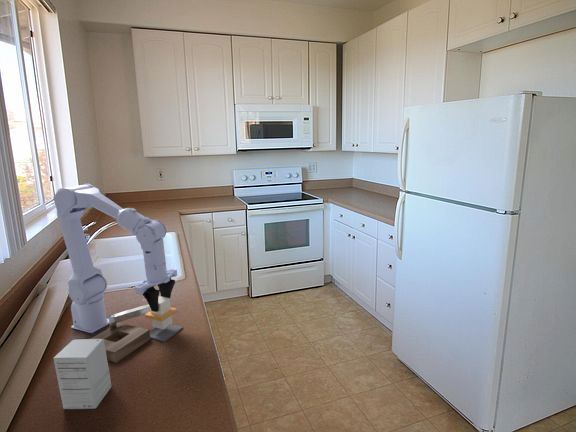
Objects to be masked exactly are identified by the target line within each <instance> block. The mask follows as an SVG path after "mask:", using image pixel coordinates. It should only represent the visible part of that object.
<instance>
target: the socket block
mask: <svg viewBox="0 0 576 432" xmlns="http://www.w3.org/2000/svg"><path fill="white" fill-rule="evenodd" d="M149 331H150V329H148V328H145V327H139V326H135V325H130V324H127V323H121V322H118V323H117V327H116V328H110V327H108V328H106V329H105V330H103V331H102V332H100V333H98V334H97V335H95V336H93V337H92V338H91V337H90V339H104V344H105V350H106V356H107V361H109V362H112V363H119V362H120V361H121V360H123V358H125V357H127V356H128V355H130V354H131V353H133V352H134V351H136V350H137V349H138V348H140V347H142V346H143V345H144V344H145V343H147V342H149V341H150V340H151V339H150V333H149Z"/></svg>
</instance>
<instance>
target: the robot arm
mask: <svg viewBox="0 0 576 432" xmlns="http://www.w3.org/2000/svg"><path fill="white" fill-rule="evenodd" d="M53 203H54V205H55V208H56V216H57V221H58V223H59V227H60V230H61V233H62V237H63V241H64V244H65V246H66V247H65V248H66V251H67V255H68V257H69V261H70V264H71V265H70V266H71V268H72V271H73V272H72V274H71V275H70V277H69V279H68V281H67V284H68V296H69V299H71V301H72V303H71V306H70V311H71V317H72V323H73V325H71V327H70V328H71V329H75V330H78V331H82V332H86V333H89V334H94V333H95V332H97V331H100V330H101V329H102V328H104V327H106V326H108V325H110V323H109V318H107V313H106V306H105V301H104V296H105V291H106V290H107V288H108V282H107V279H106V277H105V276H104V275H103V273H102V270H101V269H100V268H97V267H95V266H94V263H93V259H92V256H91V252H90V249H89V245H88V241H87V238H86V235H85V231H84V228H83V224H82V220H81V216H82V215H83V214H84V212H85V211H86V210H87V209H88V208H94V209H95V210H97V211H99V212H101V213H104V214H106V215H107V216H110V217H112V218H113V219H115V220H116V223H117V225H118V226H119V227H121V228H122V229H124V230H125V231H128V232H129V233H131V234H132V235H134V236H135V237H136V238H135V239H136V240H137V242H138V243H139V244H140V249H141V250H142V254H143V262H144V270H145V279H144V280H143V281H141V283H140V284H138V285H136V286H135V287H134V289H135V294H136V295H141V296H143V297H144V298H145V300H146V301H147V304H149V306H150V308H151V311H154V312H157V311H158V310H159V304H158V297H159V295H160V296H162V297H167V298H170V299H171V297H172V292H173V288H174V286H175V284H176V280H175V279H173V277H175V278H176V277H177V276H178V272H177V271H178V270H177V269H172V268H171V269H169V270H168V269H167V261H166V254H165V245H164V243H165V242H164V238H165V237H166V236H167V235H166V234H167V228H166V226H165V224H164V223H163V222H162V221H161V220H159V219H151V218H150V217H146V216H144V215H143V214H141V213H139V212H138V211H137V208H136V209H135V208H134V207H126V208H123V207H121V205H118V204H117V203H116V202H115V201H112V200H111V199H110V198H109V197H106V196H105V195H104V194H102V193H101V192H100V189H99V188H97V187H95V186H94V185H92V184H90V183H84V184H81V185H74V186H70V187H61V188H59V189H58V190H57V191H56V193H55V194H54V196H53ZM156 286H157V287H158V289H156V288H155V287H156Z"/></svg>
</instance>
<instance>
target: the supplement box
mask: <svg viewBox="0 0 576 432" xmlns="http://www.w3.org/2000/svg"><path fill="white" fill-rule="evenodd" d="M53 364H54V369H55V373H56V378H57V383H58V387H59V394H60V398H61V404H62V408H63V409H64V410H87V409H88V410H89V409H91V410H92V409H93V410H94V409H97V408H98V406H99V405H100V404H101V402H102V400H103V399H104V398H105V396H107V394H108V392H109V391H110V390H111V388H112V381H111V374H110V368H109V362H108V360H107V356H106V350H105V344H104V339H91V338H88V339H87V338H81V339H78V338H77V339H72V340H71V341H70V342H69V343H68V344H67V345H66V346H65V347H64V348H62V349H61V350H60V351H59V352H58V353H57V354H56V355H55V356H54V357H53Z"/></svg>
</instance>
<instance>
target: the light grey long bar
mask: <svg viewBox="0 0 576 432" xmlns="http://www.w3.org/2000/svg"><path fill="white" fill-rule="evenodd" d="M148 312H150V306H149V304H148V303H147V304H145V305H140V306H137V307H134V308H131V309H127V310H123V311H120V312H116V313H114V314H110V315H108V319H109V323H110V324H109V328H116V327H117V323H121V322H124V321H127V320H131V319H134V318H138V317H140V316H145V314H146V313H148Z"/></svg>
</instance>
